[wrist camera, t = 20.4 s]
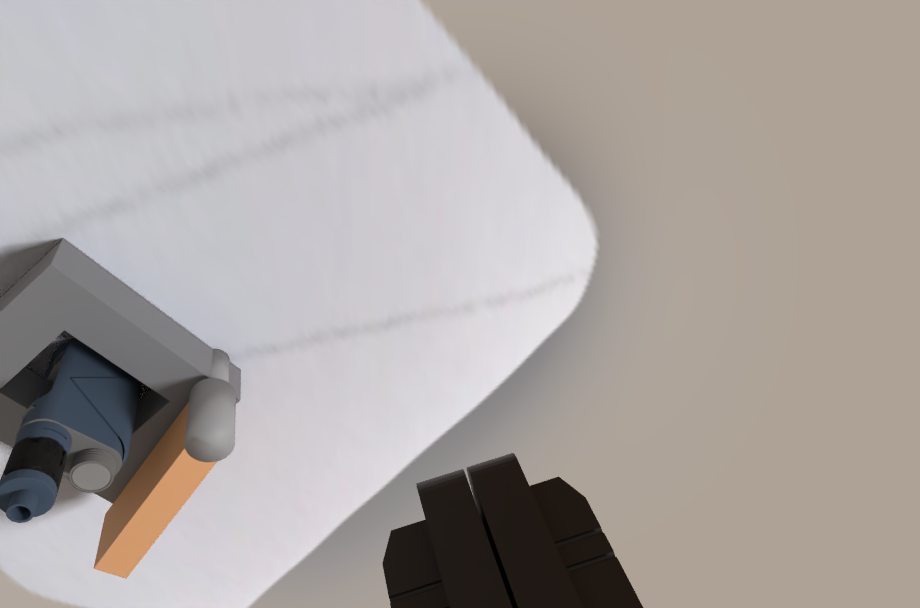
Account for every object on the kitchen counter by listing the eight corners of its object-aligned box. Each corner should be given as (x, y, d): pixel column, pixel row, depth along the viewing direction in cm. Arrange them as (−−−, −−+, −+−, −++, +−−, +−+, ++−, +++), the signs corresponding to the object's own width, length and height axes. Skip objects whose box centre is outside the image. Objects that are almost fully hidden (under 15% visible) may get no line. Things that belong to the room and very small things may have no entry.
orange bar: (204, 371, 41) (200, 417, 38) (244, 389, 42) (243, 436, 39) (100, 512, 44) (88, 567, 41) (140, 526, 45) (131, 580, 42)
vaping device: (65, 330, 42) (8, 481, 32) (151, 377, 45) (123, 530, 35) (38, 362, 43) (-27, 521, 33) (124, 406, 45) (88, 566, 35)
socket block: (-65, 359, 41) (-87, 394, 38) (67, 234, 40) (54, 262, 37) (123, 470, 47) (115, 507, 45) (244, 366, 46) (244, 398, 43)
